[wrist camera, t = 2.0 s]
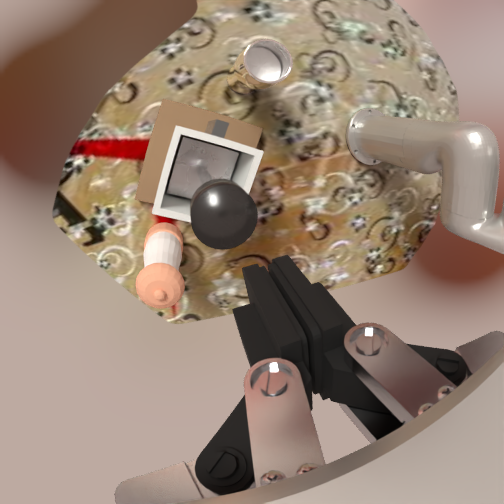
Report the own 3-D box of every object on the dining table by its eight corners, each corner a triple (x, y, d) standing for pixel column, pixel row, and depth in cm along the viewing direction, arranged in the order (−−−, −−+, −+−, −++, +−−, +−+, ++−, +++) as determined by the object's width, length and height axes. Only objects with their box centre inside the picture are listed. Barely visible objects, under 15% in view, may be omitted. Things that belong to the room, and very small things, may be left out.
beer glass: (234, 102, 44) (256, 92, 31) (217, 69, 41) (232, 47, 27) (268, 87, 44) (302, 75, 31) (252, 55, 41) (280, 31, 28)
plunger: (237, 152, 36) (295, 180, 18) (220, 204, 38) (258, 278, 21) (183, 136, 33) (184, 146, 16) (167, 191, 36) (155, 258, 18)
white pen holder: (260, 128, 47) (306, 131, 30) (229, 218, 53) (255, 268, 36) (163, 100, 41) (152, 81, 23) (136, 196, 47) (112, 238, 29)
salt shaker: (162, 214, 50) (154, 262, 33) (190, 238, 53) (197, 294, 36) (138, 242, 51) (122, 298, 34) (166, 264, 54) (164, 326, 37)
